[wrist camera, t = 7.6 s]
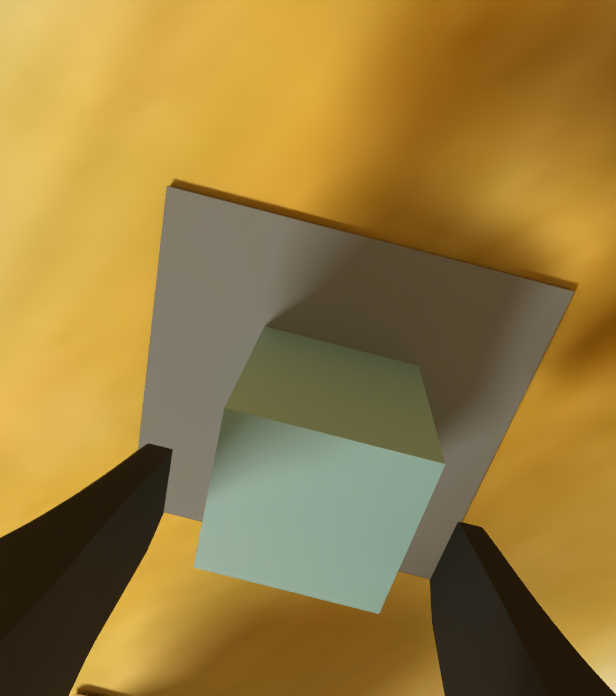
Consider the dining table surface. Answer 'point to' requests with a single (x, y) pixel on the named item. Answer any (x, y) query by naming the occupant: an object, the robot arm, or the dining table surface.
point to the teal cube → (320, 471)
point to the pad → (335, 338)
